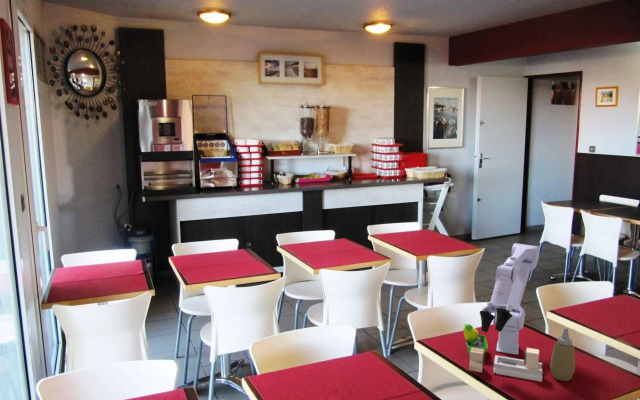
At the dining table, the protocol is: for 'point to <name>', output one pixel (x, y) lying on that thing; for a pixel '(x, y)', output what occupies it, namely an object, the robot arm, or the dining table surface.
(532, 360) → the rail
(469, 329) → the fruit basket
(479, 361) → the maple finger
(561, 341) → the squeeze bottle
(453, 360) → the dining table surface
